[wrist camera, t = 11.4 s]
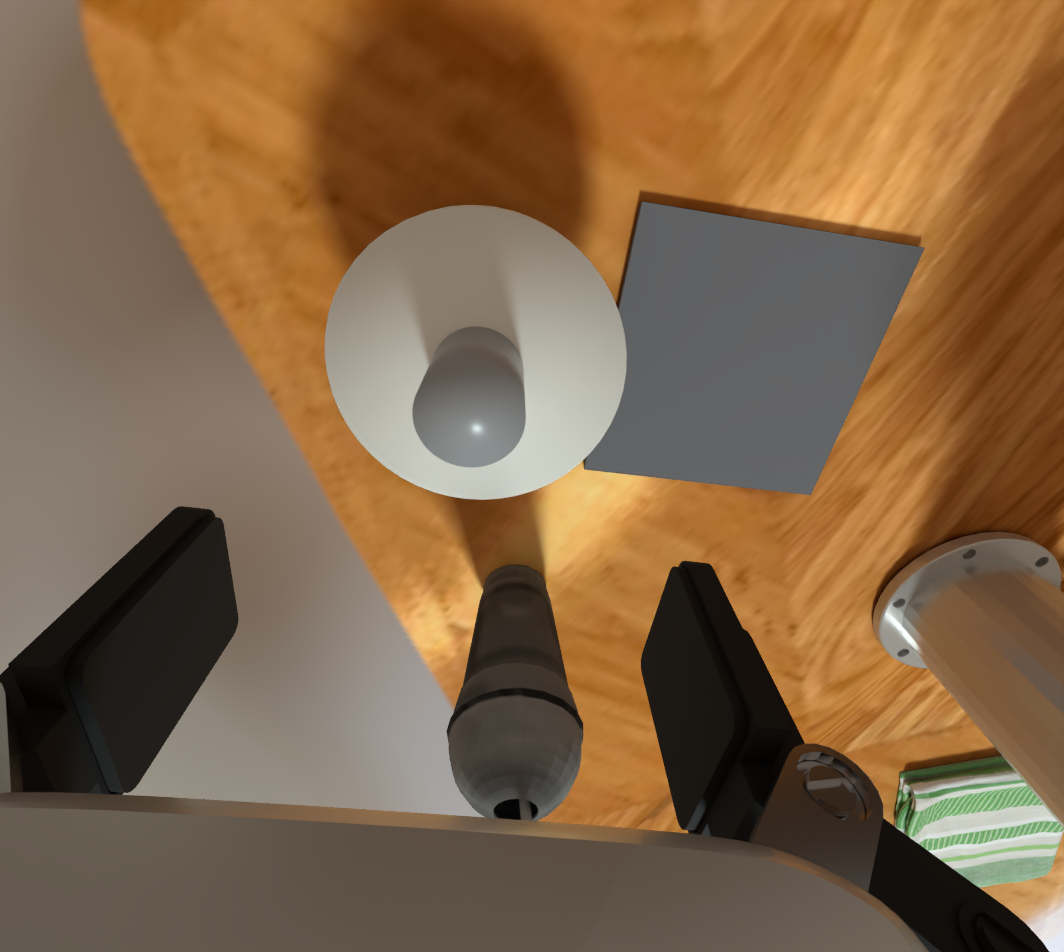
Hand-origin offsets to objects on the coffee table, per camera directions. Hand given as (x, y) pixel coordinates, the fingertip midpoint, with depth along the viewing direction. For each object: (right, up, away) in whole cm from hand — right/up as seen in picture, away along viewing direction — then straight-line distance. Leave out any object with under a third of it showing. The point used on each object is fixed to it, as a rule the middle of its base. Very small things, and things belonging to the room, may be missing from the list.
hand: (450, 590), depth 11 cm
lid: (-1, +7, +13) cm, 15 cm away
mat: (+13, +9, +19) cm, 25 cm away
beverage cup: (+1, -6, +27) cm, 28 cm away
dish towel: (+48, -33, +45) cm, 73 cm away
